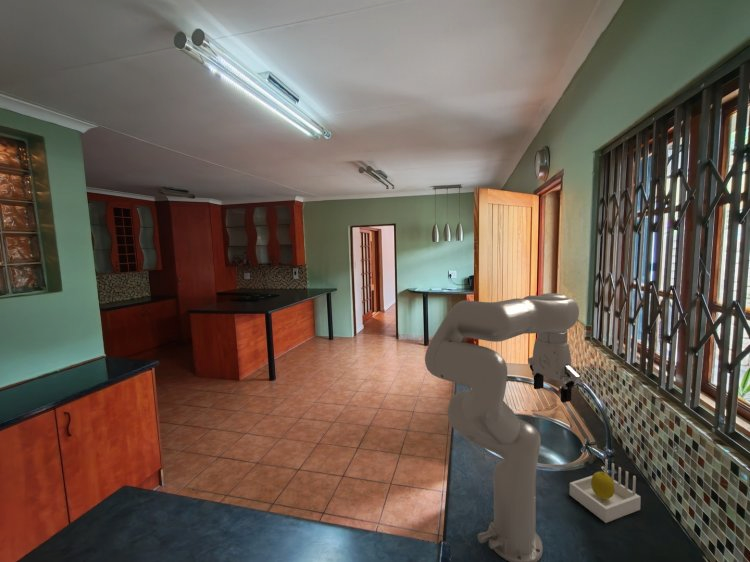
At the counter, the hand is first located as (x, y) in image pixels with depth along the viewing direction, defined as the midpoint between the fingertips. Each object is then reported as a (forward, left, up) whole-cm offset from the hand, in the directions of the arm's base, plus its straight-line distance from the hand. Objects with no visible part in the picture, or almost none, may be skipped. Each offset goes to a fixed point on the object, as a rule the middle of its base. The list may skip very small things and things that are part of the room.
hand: (551, 394), depth 97 cm
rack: (+11, -8, -30) cm, 33 cm away
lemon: (+11, -8, -30) cm, 33 cm away
